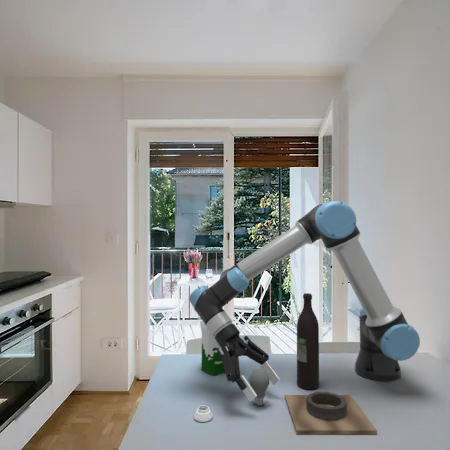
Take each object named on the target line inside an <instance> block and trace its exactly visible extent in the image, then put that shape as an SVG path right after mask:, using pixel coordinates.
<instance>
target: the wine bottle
mask: <svg viewBox="0 0 450 450" xmlns="http://www.w3.org/2000/svg"><path fill="white" fill-rule="evenodd" d="M302 299H303V306H302V307H303V308H302V310H301V312H300V314H299V316H298V318H297V323H296V384H297V386H298V388H300V389H303V390H308V391H311V390H317V389H318V388H319V387H320V367H319V366H320V330H319V329H320V328H319V320H318V318H317V316H316V314H315V312H314V310H313V306H312V301H313V295H312V293H307V292H305V293H303V295H302Z"/></svg>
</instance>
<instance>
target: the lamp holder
mask: <svg viewBox="0 0 450 450" xmlns="http://www.w3.org/2000/svg"><path fill="white" fill-rule="evenodd" d="M284 401H285V404H286V407H287V409H288V413H289V416H290V418H291V422H292V424H293V427H294V431H295V434H296V435H378V430H377V428H376V427H375V426H374V424H373V422H371V420H370V419H369V417H368V416H367V415H366V414H365V412H364V410H362V408H361V407H360V405H359V404H358V403H357V401H356V400H355V399H354V397H353V396H352V395H351V394H337V393H333V392H329V391H316V392H311V393H309V394H284Z"/></svg>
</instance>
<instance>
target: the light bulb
mask: <svg viewBox="0 0 450 450" xmlns="http://www.w3.org/2000/svg"><path fill="white" fill-rule="evenodd" d="M248 383H249V384H250V386H251V387H252V389H253V390H254V392H255V393H256V395H257V396H256V397H255V398H254V404H256V405H257V406H263V405H264V400H265V399H264V397H265V395H266V391H267V389H268V387H269V385H270V380H269V376H268V374H267V373H266V372H265V371H263V370H262V369H261V368H259V369H254V370H253V371H252V372H251V373H250V375H249V377H248Z"/></svg>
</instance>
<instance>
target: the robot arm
mask: <svg viewBox="0 0 450 450" xmlns="http://www.w3.org/2000/svg"><path fill="white" fill-rule="evenodd" d="M356 216H357V215H356V212H355V211H354V210H353V208H352V207H351V206H350V205H348V204H347V203H346V202H343V201H338V200H328V201H326V202H324V203H321V204H318V205H316V206H314V207H313V208H312V209H311V210H310V211H308V212H307V213H306V214H305V215H304V216H302V217H301V218H299V219H298V220H296V221H295V223H294V224H295V225H294V226H292V227H291V228H289V229H288V230H286V231H285V232H283V233H281V234H280V235H279V236H277V237H276V238H274V239H272V240H271V241H269V242H268V243H266V244H265V245H263V246H262V247H260V248H259V249H257V250H256V251H254V252H252V253H251V254H250V255H248V256H247V257H245V258H243V259H242V260H240V261H239V262H238V263H236V264H235V265H233V266H230V268H227V269H225V270H224V271H222V272H221V273H220V277H219V279H218V280H217V281H216V282H215V283H214V284H212V285H211V286H210V287H208V286H207V285H200V286H198V288H195V289H194V290H193V291H192V292H191V293H190V294H189V297H188V298H189V302H190V304H191V305H192V307H193V310H194V311H195V312H196V314H197V315H198V317H199V318H200V319H201V321H203V322H204V323H205V325H206V326H207V328H208V329H209V331H210V332H211V334H212V335H213V336H215V340H216V341H217V343H218V344H219V346H220V347H221V348H220V349H219V350H218V353H219V355H220V356H221V359H222V363H223V366H224V370H225V372H224V373H225V376H226V380H227V381H228V382H231V383H232V384H233V383H234V382H235V383H236V385H237V387H238V388H239V390H240V391H242V392H243V394H244V395H245V397H246V398H247V399H248V402H251V401H253V400H255V397H256V396H257V395H256V393H255V392H254V390H253V389H252V387H251V386H250V384H249V380H247V379H246V377H245V375H241V368H240V361H239V359H240V358H239V357H242V356H243V357H247V358H249V359H251V360H252V361H254V362H256V363H258V364H259V365H260V366H259V367H260V369H261V370H263V371H265V372H266V373H267V374H268V376H269V382H270V383H271V384H272V385H276V383H278V382H279V381H280V380H281V378H280V377H279V376H278V375H277V373H276V372H275V370H274V368H273V367H272V366H271V364H270V363H269V359H270V358H269V357H270V356H269V354H268V353H266V351H264V350H263V349H262V348H260V346H258V345H257V344H256V343H254V342H253V341H252V340H251V339H250V337H249V336H248V335H245V336H244V337H243V338H241V337H240V334H241V331H240V330H239V329H238V327H237V326H236V325H235V323H233V320H232V319H231V318H230V316H229V315H228V314H227V312H226V310H225V309H224V308H223V307H225V306H226V305H227V304H228V303H229V302H230V301H232V300H234V299H235V298H236V297H237V296H238V295H239V294H241V293H242V292H244V291H245V289H246V288H247V287H248V286H249V285H250V281H251V280H252V279H254V278H255V277H258V276H259V275H261V274H262V273H264V272H265V271H267V270H269V269H270V268H271V267H272V266H274V265H276V264H278V263H280V262H281V261H282V260H284V259H285V258H287V257H288V256H290V255H292V254H293V253H295V252H296V251H298V250H299V249H300V248H302V247H304V246H305V245H306V244H307V245H312V244H314V243H315V242H317V241H319V240H321V241H322V243H323V245H324V247H325V248H326V250H327V251H328V250H329V251H331V252H333V253H334V256H335V257H336V259H337V261H338V263H339V265H340V267H341V269H342V271H343V273H344V275H345V277H346V278H347V281H348V282H349V284H350V286H351V288H352V290H353V292H354V294H355V295H356V298H357V300H358V301H359V303H360V306H361V307H362V308H361V309H360V311H359V317H358V319H359V352H358V355H357V357H356V359H355V360H356V361H355V363H354V371H355V373H356V374H357V375H359V376H360V377H363V378H365V379H369V380H374V381H379V382H391V381H397V380H399V379H401V377H402V370H401V366H400V363H399V362H400V361H401V362H402V361H406V360H409V359H411V358H412V357H414V356H415V355H416V353H417V352H418V349H419V347H420V343H421V339H420V338H421V337H420V334H419V332H418V331H417V330H416V329H415V327H413V326H412V325H411V324H409V323H408V322H407V321H408V320H406V317H405V316H404V313H403V312H402V310H401V308H399V307H396V306H393V303H392V302H391V300H390V298H389V296H388V294H387V292H386V290H385V289H384V286H383V285H382V282H381V281H380V279H379V277H378V274H377V273H376V271H375V269H374V267H373V265H372V263H371V261H370V259H369V258H368V256H367V254H366V252H365V250H364V248H363V247H362V244H361V243H360V241H359V239H360V236H361V232H360V230H359V228H358V226H357V217H356Z"/></svg>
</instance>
